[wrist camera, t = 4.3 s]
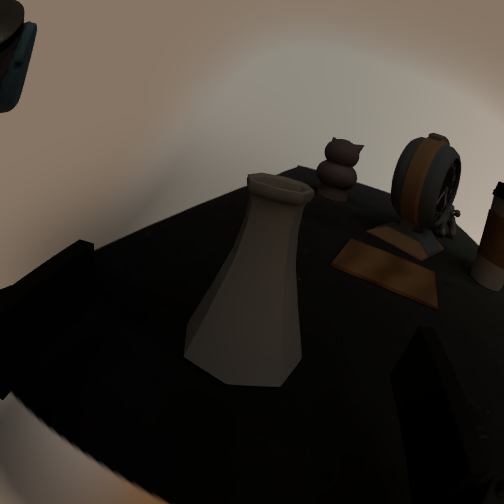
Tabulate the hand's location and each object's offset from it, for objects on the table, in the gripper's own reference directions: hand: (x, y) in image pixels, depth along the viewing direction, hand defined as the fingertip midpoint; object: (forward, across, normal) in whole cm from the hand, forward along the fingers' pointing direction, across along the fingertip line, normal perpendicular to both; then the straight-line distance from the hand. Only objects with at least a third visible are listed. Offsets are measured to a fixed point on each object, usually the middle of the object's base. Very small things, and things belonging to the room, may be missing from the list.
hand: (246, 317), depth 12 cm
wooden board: (+22, +14, -6) cm, 27 cm away
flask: (+5, 0, -6) cm, 8 cm away
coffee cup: (+28, +33, -6) cm, 44 cm away
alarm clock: (+37, +21, -6) cm, 43 cm away
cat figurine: (+54, +9, -6) cm, 55 cm away
